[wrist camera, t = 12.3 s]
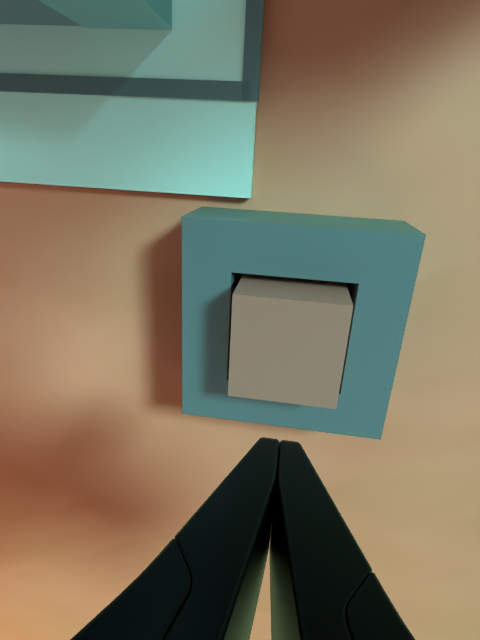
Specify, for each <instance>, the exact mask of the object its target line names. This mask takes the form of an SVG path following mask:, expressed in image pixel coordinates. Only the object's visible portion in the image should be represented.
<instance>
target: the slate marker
mask: <svg viewBox="0 0 480 640" xmlns="http://www.w3.org/2000/svg"><path fill="white" fill-rule="evenodd" d="M0 24H20V25H58V26H83V27H84V28H109V29H146V30H172V0H0Z"/></svg>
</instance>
